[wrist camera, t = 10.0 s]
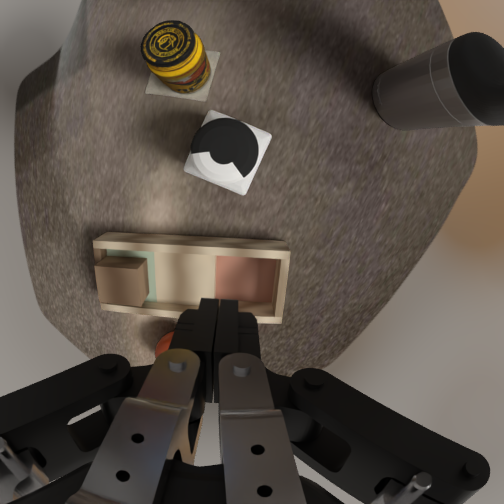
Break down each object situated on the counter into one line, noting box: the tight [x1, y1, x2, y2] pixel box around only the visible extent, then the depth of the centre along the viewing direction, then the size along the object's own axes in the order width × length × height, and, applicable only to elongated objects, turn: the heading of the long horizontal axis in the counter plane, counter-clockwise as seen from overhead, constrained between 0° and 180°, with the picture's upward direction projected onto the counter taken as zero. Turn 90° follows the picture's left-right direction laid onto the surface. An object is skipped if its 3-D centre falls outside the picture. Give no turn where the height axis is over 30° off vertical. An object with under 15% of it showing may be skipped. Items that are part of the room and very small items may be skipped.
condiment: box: [141, 21, 220, 102], centre depth 26 cm, size 7×8×12 cm
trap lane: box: [93, 232, 291, 324], centre depth 38 cm, size 25×10×4 cm, turn 86°
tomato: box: [155, 331, 174, 358], centre depth 40 cm, size 7×7×8 cm
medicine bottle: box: [184, 110, 272, 195], centre depth 29 cm, size 7×7×12 cm
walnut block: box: [94, 256, 150, 307], centre depth 35 cm, size 6×5×4 cm
